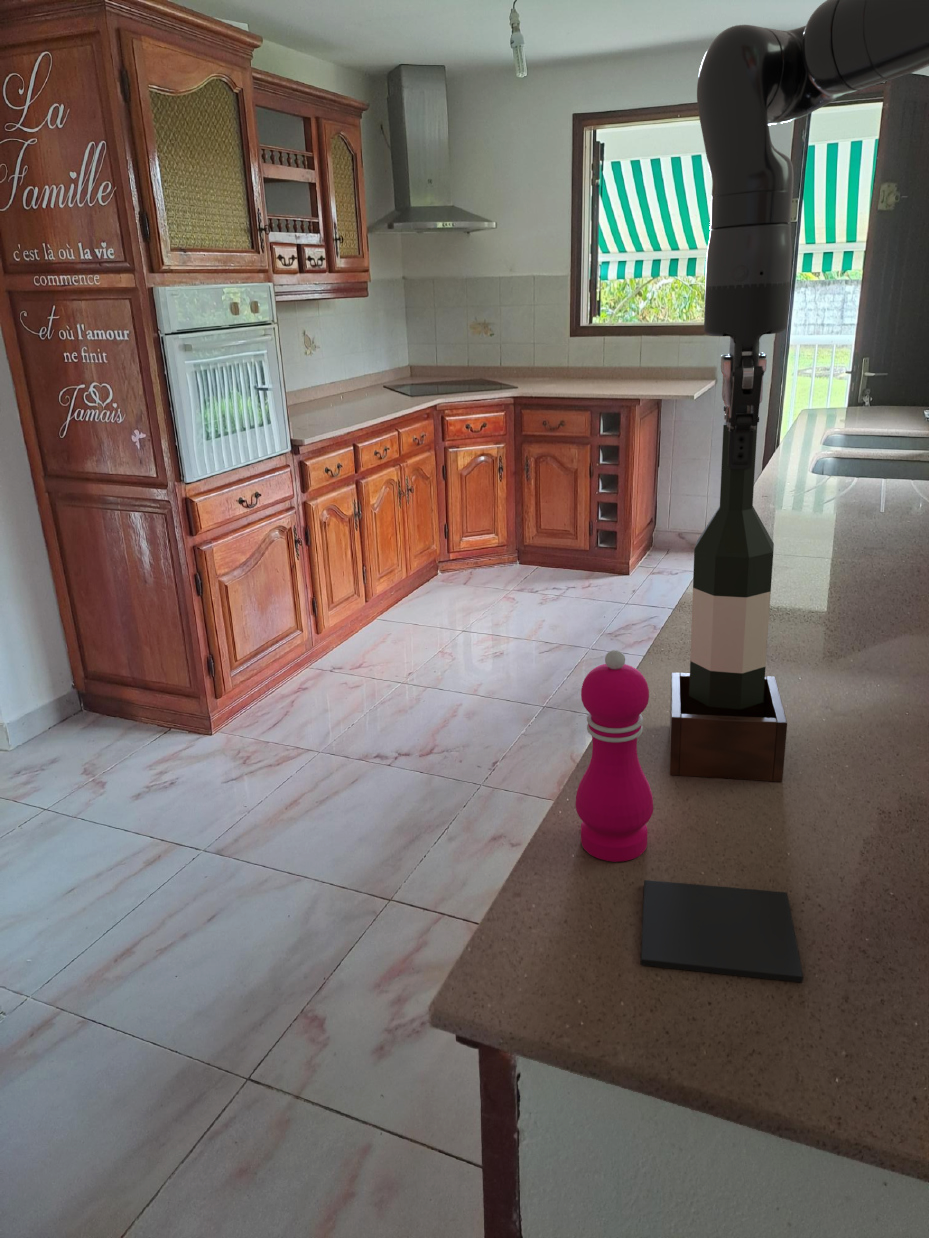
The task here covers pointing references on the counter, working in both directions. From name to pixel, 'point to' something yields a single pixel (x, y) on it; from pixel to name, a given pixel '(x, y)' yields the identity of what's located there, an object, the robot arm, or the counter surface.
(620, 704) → the pepper mill
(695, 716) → the box
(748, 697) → the wine bottle
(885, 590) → the counter surface
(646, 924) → the rubber mat
